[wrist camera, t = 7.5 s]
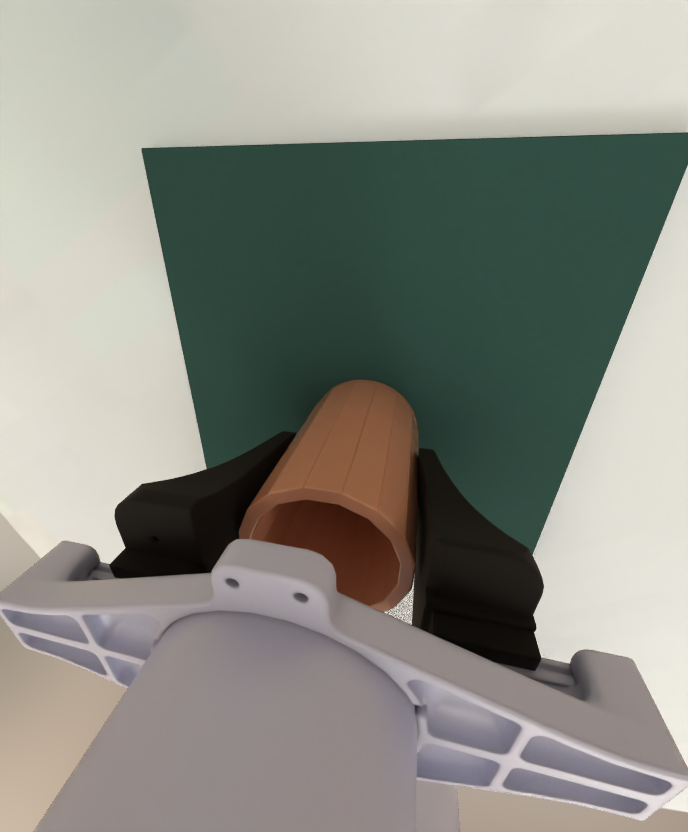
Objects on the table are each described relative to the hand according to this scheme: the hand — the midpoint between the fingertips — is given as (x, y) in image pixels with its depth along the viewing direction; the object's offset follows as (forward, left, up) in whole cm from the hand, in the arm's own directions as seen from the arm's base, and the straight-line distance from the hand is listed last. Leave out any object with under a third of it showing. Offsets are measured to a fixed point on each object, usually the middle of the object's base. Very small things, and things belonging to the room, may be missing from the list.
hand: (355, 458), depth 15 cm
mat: (+2, 0, -3) cm, 4 cm away
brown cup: (0, 0, -3) cm, 3 cm away
